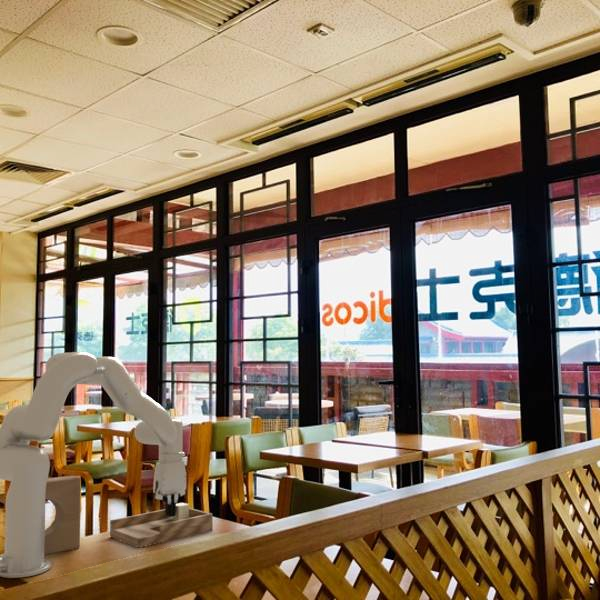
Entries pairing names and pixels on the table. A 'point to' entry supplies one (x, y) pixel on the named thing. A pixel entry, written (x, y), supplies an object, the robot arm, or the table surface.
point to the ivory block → (181, 511)
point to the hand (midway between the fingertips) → (170, 515)
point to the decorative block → (63, 514)
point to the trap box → (159, 527)
